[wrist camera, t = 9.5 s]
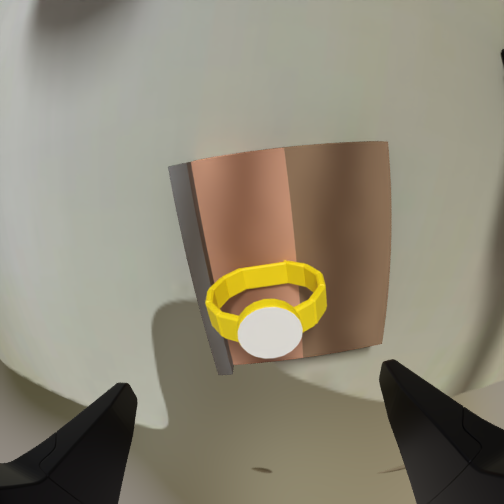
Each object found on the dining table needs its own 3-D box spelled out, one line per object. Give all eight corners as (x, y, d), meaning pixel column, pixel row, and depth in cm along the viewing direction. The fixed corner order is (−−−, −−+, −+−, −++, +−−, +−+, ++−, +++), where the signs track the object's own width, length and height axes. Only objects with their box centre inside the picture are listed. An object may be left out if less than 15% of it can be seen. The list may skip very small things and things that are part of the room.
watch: (309, 243, 17) (343, 291, 11) (313, 285, 18) (343, 343, 12) (207, 262, 17) (194, 319, 11) (217, 302, 18) (212, 368, 12)
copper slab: (374, 141, 16) (395, 141, 13) (373, 328, 21) (386, 352, 18) (182, 162, 17) (168, 166, 14) (222, 348, 22) (218, 375, 19)
